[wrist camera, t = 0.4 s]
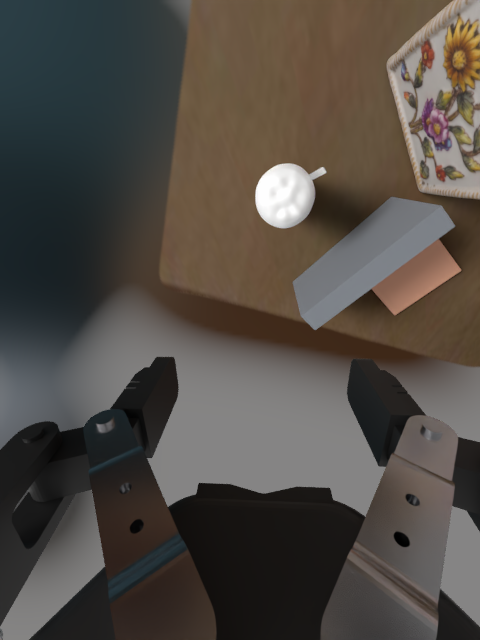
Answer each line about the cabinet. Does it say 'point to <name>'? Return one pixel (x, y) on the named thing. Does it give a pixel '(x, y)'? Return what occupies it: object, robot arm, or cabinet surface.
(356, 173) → the cabinet surface
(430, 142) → the decorative jar
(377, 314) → the cabinet surface
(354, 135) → the cabinet surface
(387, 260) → the screen
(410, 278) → the mat
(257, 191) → the milkshake
